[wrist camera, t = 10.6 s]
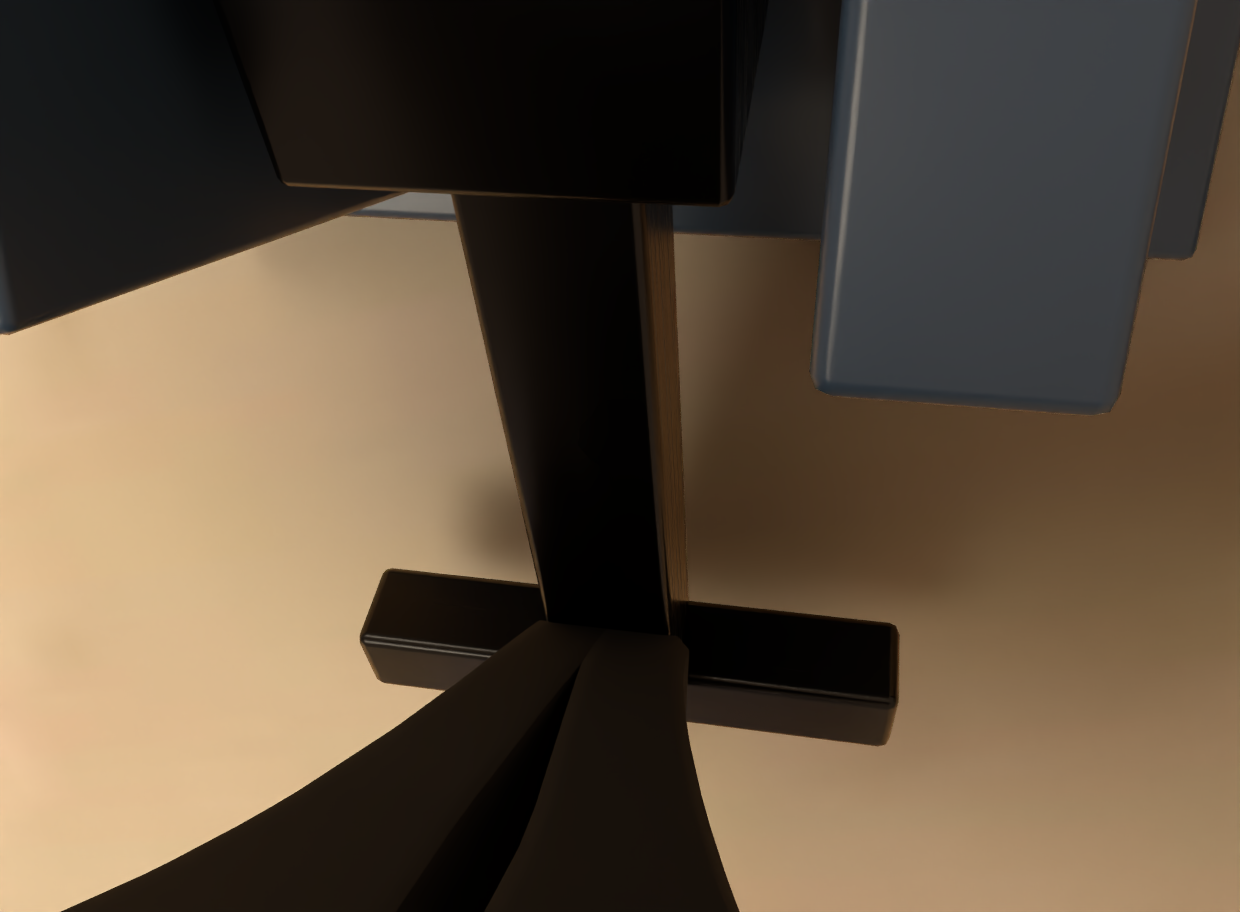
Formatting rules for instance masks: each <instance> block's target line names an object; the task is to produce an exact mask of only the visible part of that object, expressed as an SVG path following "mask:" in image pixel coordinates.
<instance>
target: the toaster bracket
mask: <svg viewBox="0 0 1240 912" xmlns="http://www.w3.org/2000/svg"><path fill="white" fill-rule="evenodd" d="M1239 46H1240V0H769V4H768V10H767V16H766V21H765V27H764V32H763V38H762V44H761V49H760V55H759V60H758V66H757V71H756V77H755V83H754V88H753V94H752V99H751V105H750V111H749V116H748V122H747V127H746V133H745V139H744V144H743V150H742V155H741V161H740V167H739V172H738V178H737V183H736V189H735V193H734V195H733V197H732V199H731V201H730V202H729V204H728V205H725V206H721V207H705V206H685V205H672V209H673V233H678V234H696V235H715V236H734V237H752V238H771V239H790V240H809V241H821V244H820V256H819V267H818V279H817V290H816V302H815V313H814V324H813V336H812V347H811V359H810V370H809V372H810V375H811V378H812V381H813V384H814V387H815V389H817V390H819V391H821V392H823V393H825V394H828V395H830V396H832V397H844V398H857V399H870V400H883V401H896V402H909V403H922V404H935V405H948V406H961V407H974V408H987V409H1000V410H1013V411H1027V412H1040V413H1053V414H1066V415H1079V416H1093V415H1098V414H1102V413H1107V412H1110V411H1111V409H1112V407H1113V406H1114V404H1115V403H1116V401H1117V399H1118V398H1119V396H1120V394H1121V389H1122V384H1123V379H1124V374H1125V369H1126V364H1127V359H1128V354H1129V348H1130V343H1131V338H1132V333H1133V328H1134V323H1135V318H1136V313H1137V308H1138V303H1139V297H1140V292H1141V287H1142V282H1143V277H1144V272H1145V267H1146V262H1147V259H1165V260H1184V259H1187V258H1191V257H1192V256H1193V254H1194V252H1195V251H1196V249H1197V244H1198V239H1199V235H1200V230H1201V225H1202V221H1203V216H1204V211H1205V206H1206V202H1207V197H1208V192H1209V187H1210V183H1211V178H1212V173H1213V169H1214V164H1215V159H1216V154H1217V150H1218V145H1219V140H1220V135H1221V131H1222V126H1223V121H1224V117H1225V112H1226V107H1227V102H1228V98H1229V93H1230V88H1231V84H1232V79H1233V74H1234V69H1235V65H1236V60H1237V55H1238V50H1239ZM341 216H359V217H378V218H396V219H415V220H434V221H453V222H457V220H456V215H455V211H454V206H453V202H452V197H451V194H440V193H419V192H399V191H378V190H358V189H338V188H317V187H297V186H288V185H285V184H283V183H281V181H280V180H279V179H278V178H277V176H276V173H275V170H274V167H273V165H272V162H271V159H270V156H269V154H268V151H267V148H266V145H265V143H264V140H263V137H262V134H261V132H260V129H259V126H258V123H257V121H256V118H255V115H254V112H253V110H252V107H251V104H250V101H249V99H248V96H247V93H246V90H245V88H244V85H243V82H242V79H241V77H240V74H239V71H238V69H237V66H236V63H235V60H234V58H233V55H232V52H231V49H230V47H229V44H228V41H227V38H226V36H225V33H224V30H223V27H222V25H221V22H220V19H219V16H218V14H217V11H216V8H215V5H214V3H213V0H0V334H5V335H10V334H13V333H16V332H18V331H21V330H24V329H27V328H30V327H32V326H35V325H38V324H41V323H44V322H47V321H49V320H52V319H55V318H58V317H61V316H63V315H66V314H69V313H72V312H75V311H77V310H80V309H83V308H86V307H89V306H91V305H94V304H97V303H100V302H103V301H105V300H108V299H111V298H114V297H117V296H119V295H122V294H125V293H128V292H131V291H133V290H136V289H139V288H142V287H145V286H147V285H150V284H153V283H156V282H159V281H161V280H164V279H167V278H170V277H173V276H176V275H178V274H181V273H184V272H187V271H190V270H192V269H195V268H198V267H201V266H204V265H206V264H209V263H212V262H215V261H218V260H220V259H223V258H226V257H229V256H232V255H234V254H237V253H240V252H243V251H246V250H248V249H251V248H254V247H257V246H260V245H262V244H265V243H268V242H271V241H274V240H276V239H279V238H282V237H285V236H288V235H290V234H293V233H296V232H299V231H302V230H305V229H307V228H310V227H313V226H316V225H319V224H321V223H324V222H327V221H330V220H333V219H335V218H338V217H341Z"/></svg>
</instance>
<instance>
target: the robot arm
mask: <svg viewBox="0 0 1240 912" xmlns="http://www.w3.org/2000/svg"><path fill="white" fill-rule="evenodd" d="M688 664H689V649H688V648H687V647H686V646H685V644H684V643H683V642H682V641H681V640H680V639H679V638H678V636H672V635H658V634H649V633H640V632H631V631H622V630H613V629H605V628H596V627H587V626H579V625H570V624H561V623H553V622H549V621H542V620H539V621H538V622H536V623H535V624H533V625H532V626H531V627H529V628H528V629H526V630H525V631H524V632H522V633H521V634H520V635H518V636H517V637H516V638H514V639H513V640H512V641H510V642H509V643H508V644H507V645H505V646H504V647H503V648H501V649H500V650H499V651H497V652H496V653H495V654H493V655H492V656H491V657H489V658H488V659H487V660H486V661H484V662H483V663H482V664H480V665H479V666H478V667H476V668H475V669H474V670H472V671H471V672H470V673H469V674H467V675H466V676H465V677H463V678H462V679H461V680H459V681H458V682H457V683H455V684H454V685H453V686H451V687H450V688H449V689H447V690H446V691H445V692H443V693H442V694H440V695H439V696H438V697H436V698H435V699H434V700H432V701H431V702H430V703H428V704H427V705H425V706H424V707H423V708H421V709H420V710H419V711H417V712H416V713H415V714H413V715H412V716H410V717H409V718H408V719H406V720H405V721H404V722H402V723H401V724H399V725H398V726H397V727H395V728H394V729H392V730H391V731H389V732H388V733H386V734H385V735H383V736H382V737H380V738H379V739H377V740H375V741H374V742H372V743H371V744H369V745H368V746H366V747H365V748H363V749H362V750H360V751H359V752H357V753H356V754H354V755H352V756H351V757H349V758H348V759H346V760H345V761H343V762H342V763H340V764H339V765H337V766H336V767H334V768H333V769H331V770H329V771H328V772H326V773H325V774H323V775H322V776H320V777H319V778H317V779H316V780H314V781H313V782H311V783H310V784H308V785H306V786H305V787H303V788H302V789H300V790H299V791H297V792H295V793H294V794H292V795H290V796H289V797H287V798H285V799H284V800H282V801H280V802H279V803H277V804H275V805H274V806H272V807H270V808H268V809H267V810H265V811H263V812H261V813H260V814H258V815H256V816H254V817H253V818H251V819H249V820H247V821H246V822H244V823H242V824H240V825H239V826H237V827H235V828H233V829H231V830H229V831H227V832H225V833H223V834H222V835H220V836H218V837H216V838H214V839H212V840H210V841H208V842H206V843H205V844H203V845H201V846H199V847H197V848H195V849H193V850H191V851H189V852H187V853H186V854H184V855H182V856H180V857H178V858H176V859H174V860H172V861H170V862H168V863H166V864H164V865H162V866H160V867H158V868H156V869H154V870H152V871H150V872H148V873H146V874H144V875H142V876H140V877H137V878H135V879H133V880H131V881H128V882H126V883H124V884H122V885H120V886H117V887H115V888H113V889H111V890H108V891H106V892H104V893H102V894H99V895H97V896H95V897H93V898H90V899H88V900H86V901H84V902H82V903H79V904H77V905H75V906H73V907H70V908H68V909H66V910H64V911H61V912H739V909H738V907H737V904H736V901H735V899H734V896H733V893H732V890H731V888H730V885H729V882H728V879H727V877H726V874H725V871H724V868H723V865H722V862H721V859H720V856H719V852H718V849H717V846H716V843H715V840H714V837H713V834H712V831H711V828H710V824H709V821H708V817H707V814H706V810H705V806H704V803H703V799H702V796H701V791H700V787H699V782H698V778H697V773H696V769H695V765H694V760H693V756H692V751H691V747H690V741H689V735H688V729H687V723H686V704H687V684H688Z"/></svg>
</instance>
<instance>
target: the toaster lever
mask: <svg viewBox="0 0 1240 912" xmlns="http://www.w3.org/2000/svg"><path fill="white" fill-rule="evenodd" d="M213 3H214V5H215V8H216V11H217V14H218V16H219V19H220V22H221V25H222V27H223V30H224V33H225V36H226V38H227V41H228V44H229V47H230V49H231V52H232V55H233V58H234V60H235V63H236V66H237V69H238V71H239V74H240V77H241V79H242V82H243V85H244V88H245V90H246V93H247V96H248V99H249V101H250V104H251V107H252V110H253V112H254V115H255V118H256V121H257V123H258V126H259V129H260V132H261V134H262V137H263V140H264V143H265V145H266V148H267V151H268V154H269V156H270V159H271V162H272V165H273V167H274V170H275V173H276V176H277V178H278V179H279V180H280V181H281V183H283V184H285V185H288V186H297V187H317V188H338V189H358V190H378V191H399V192H419V193H440V194H451V197H452V202H453V206H454V211H455V215H456V220H457V224H458V228H459V233H460V237H461V242H462V246H463V251H464V255H465V260H466V264H467V268H468V273H469V277H470V282H471V286H472V291H473V295H474V300H475V304H476V308H477V313H478V317H479V322H480V326H481V331H482V335H483V340H484V344H485V349H486V353H487V357H488V362H489V366H490V371H491V375H492V380H493V384H494V389H495V393H496V397H497V402H498V406H499V411H500V415H501V420H502V424H503V429H504V433H505V437H506V442H507V446H508V451H509V455H510V460H511V464H512V469H513V473H514V478H515V482H516V486H517V491H518V495H519V500H520V504H521V509H522V513H523V518H524V522H525V526H526V531H527V535H528V540H529V544H530V549H531V553H532V558H533V562H534V566H535V571H536V575H537V580H538V584H530V583H521V582H512V581H502V580H493V579H484V578H475V577H466V576H457V575H448V574H439V573H430V572H420V571H411V570H402V569H393V568H392V569H387V570H386V571H385V572H384V573H383V575H382V578H381V580H380V583H379V586H378V588H377V591H376V594H375V596H374V599H373V601H372V604H371V607H370V609H369V612H368V615H367V617H366V620H365V623H364V625H363V628H362V630H361V633H360V644H361V646H362V648H363V650H364V652H365V654H366V656H367V658H368V661H369V663H370V665H371V667H372V669H373V671H374V673H375V675H376V677H377V679H378V680H380V681H382V682H384V683H388V684H396V685H404V686H411V687H419V688H427V689H435V690H443V691H446V690H447V689H449V688H450V687H451V686H453V685H454V684H455V683H457V682H458V681H459V680H461V679H462V678H463V677H465V676H466V675H467V674H469V673H470V672H471V671H472V670H474V669H475V668H476V667H478V666H479V665H480V664H482V663H483V662H484V661H486V660H487V659H488V658H489V657H491V656H492V655H493V654H495V653H496V652H497V651H499V650H500V649H501V648H503V647H504V646H505V645H507V644H508V643H509V642H510V641H512V640H513V639H514V638H516V637H517V636H518V635H520V634H521V633H522V632H524V631H525V630H526V629H528V628H529V627H531V626H532V625H533V624H535V623H536V622H538V621H539V620H542V621H549V622H553V623H561V624H570V625H579V626H587V627H596V628H605V629H613V630H622V631H631V632H640V633H649V634H658V635H672V636H678V638H679V639H680V640H681V641H682V642H683V643H684V644H685V646H686V647H687V648H688V649H689V664H688V684H687V704H686V722H692V723H700V724H708V725H715V726H723V727H731V728H739V729H747V730H754V731H762V732H770V733H778V734H786V735H793V736H801V737H809V738H817V739H825V740H832V741H840V742H848V743H856V744H864V745H871V746H882V745H885V744H886V743H887V741H888V739H889V737H890V734H891V730H892V726H893V722H894V718H895V714H896V710H897V706H898V702H899V636H900V635H899V632H898V630H897V628H896V626H895V625H893V624H891V623H885V622H876V621H867V620H858V619H849V618H840V617H831V616H822V615H812V614H803V613H794V612H785V611H776V610H767V609H758V608H749V607H739V606H730V605H721V604H712V603H703V602H694V601H689V596H688V572H687V548H686V523H685V499H684V475H683V451H682V427H681V403H680V378H679V354H678V330H677V306H676V282H675V258H674V233H673V209H672V205H685V206H705V207H721V206H725V205H728V204H729V202H730V201H731V199H732V197H733V195H734V193H735V189H736V183H737V178H738V172H739V167H740V161H741V155H742V150H743V144H744V139H745V133H746V127H747V122H748V116H749V111H750V105H751V99H752V94H753V88H754V83H755V77H756V71H757V66H758V60H759V55H760V49H761V44H762V38H763V32H764V27H765V21H766V16H767V10H768V4H769V0H213Z"/></svg>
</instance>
